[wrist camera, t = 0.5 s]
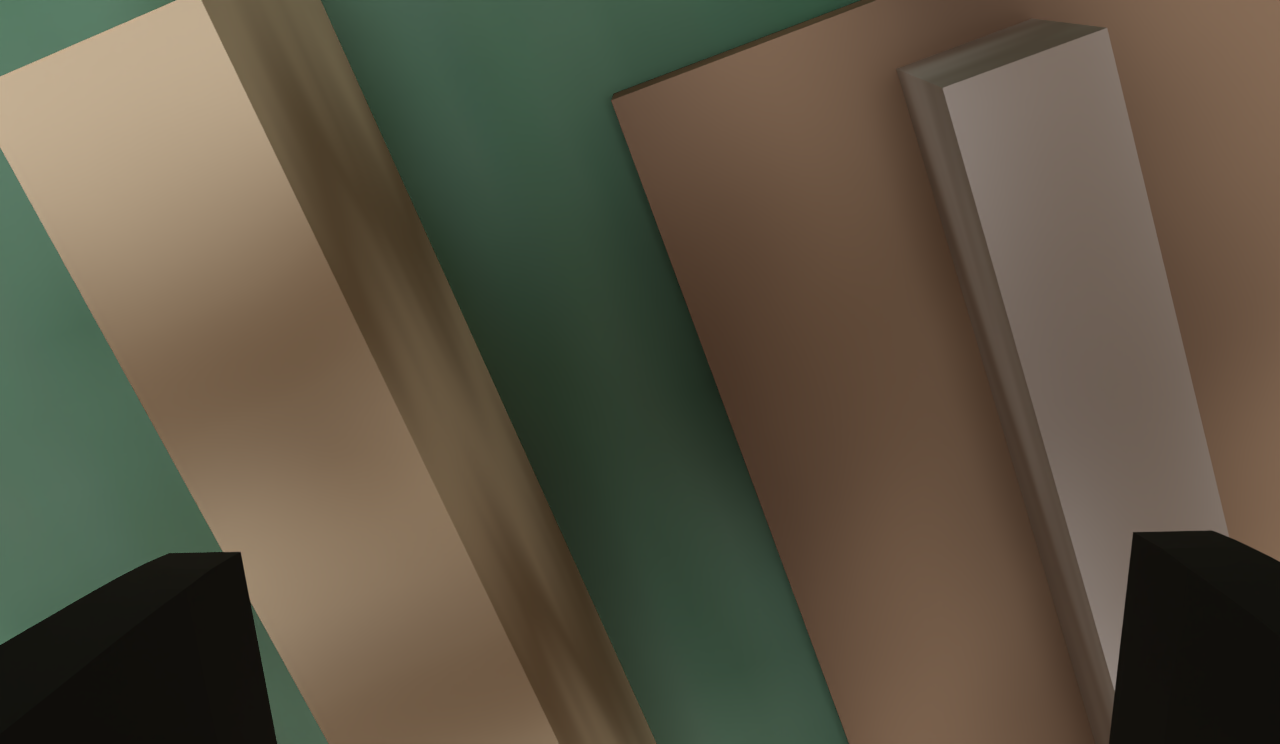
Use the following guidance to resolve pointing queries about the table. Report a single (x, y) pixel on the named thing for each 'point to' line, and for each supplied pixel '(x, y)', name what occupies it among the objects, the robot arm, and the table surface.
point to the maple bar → (314, 375)
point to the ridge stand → (983, 326)
